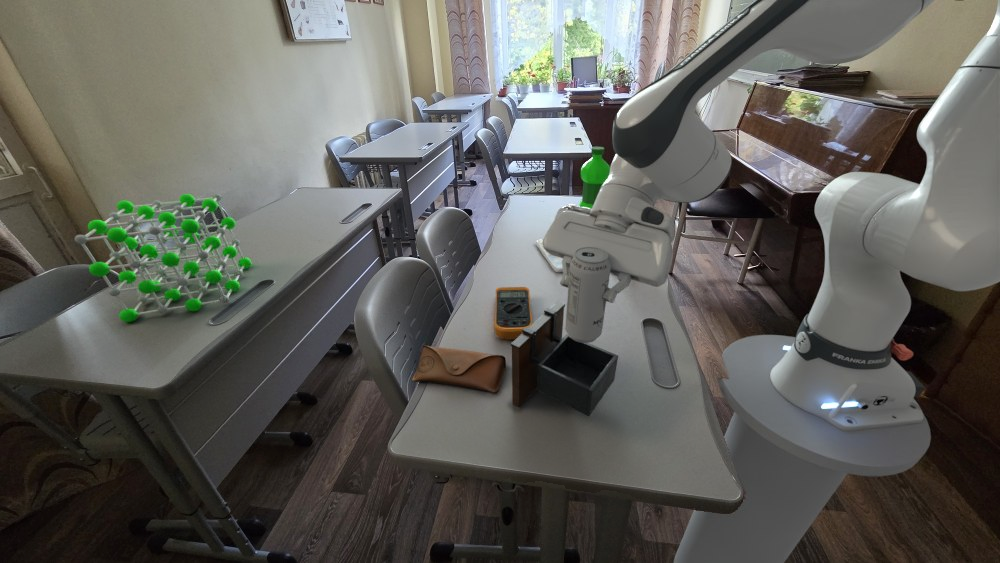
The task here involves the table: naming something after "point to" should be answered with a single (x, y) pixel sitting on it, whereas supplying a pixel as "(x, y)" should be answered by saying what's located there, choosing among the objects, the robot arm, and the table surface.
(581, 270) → the energy drink can
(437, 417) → the table surface
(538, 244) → the calculator
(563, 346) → the dark grey open box
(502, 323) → the multimeter
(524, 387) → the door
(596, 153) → the plastic bottle
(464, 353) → the sunglasses case
